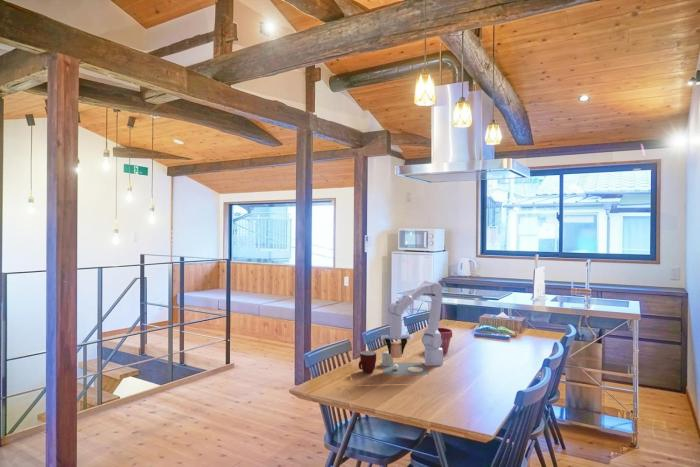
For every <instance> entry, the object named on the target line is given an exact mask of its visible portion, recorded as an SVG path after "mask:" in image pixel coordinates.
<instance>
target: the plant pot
mask: <svg viewBox="0 0 700 467" xmlns="http://www.w3.org/2000/svg"><path fill="white" fill-rule="evenodd" d="M438 331H439V332H440V334H441V341H442V343H441V346H440V347H441V348H442V349H443V354H447V353H448V351H449V347H450V342H451V339H452V338H453V330H452V329H451V328H450V329H449V328H448V327H447V328H446V327H438Z"/></svg>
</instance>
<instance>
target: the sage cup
mask: <svg viewBox="0 0 700 467" xmlns="http://www.w3.org/2000/svg"><path fill="white" fill-rule="evenodd" d="M381 363H382V366H393V363H394V358H393V357H390V354H389V351H388V350H384V351H382V352H381Z"/></svg>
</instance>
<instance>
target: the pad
mask: <svg viewBox="0 0 700 467" xmlns="http://www.w3.org/2000/svg"><path fill="white" fill-rule="evenodd" d="M407 370H408V371H410V372H422V371H423V369H422V368H420V367H409V368H407Z"/></svg>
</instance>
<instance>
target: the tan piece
mask: <svg viewBox="0 0 700 467" xmlns="http://www.w3.org/2000/svg"><path fill="white" fill-rule="evenodd" d="M390 349H391V354H390V357H393V359H400V358H402V357H403V354H402V345H401V342H398V341H395V342H394V341H393V342H391V347H390Z"/></svg>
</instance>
